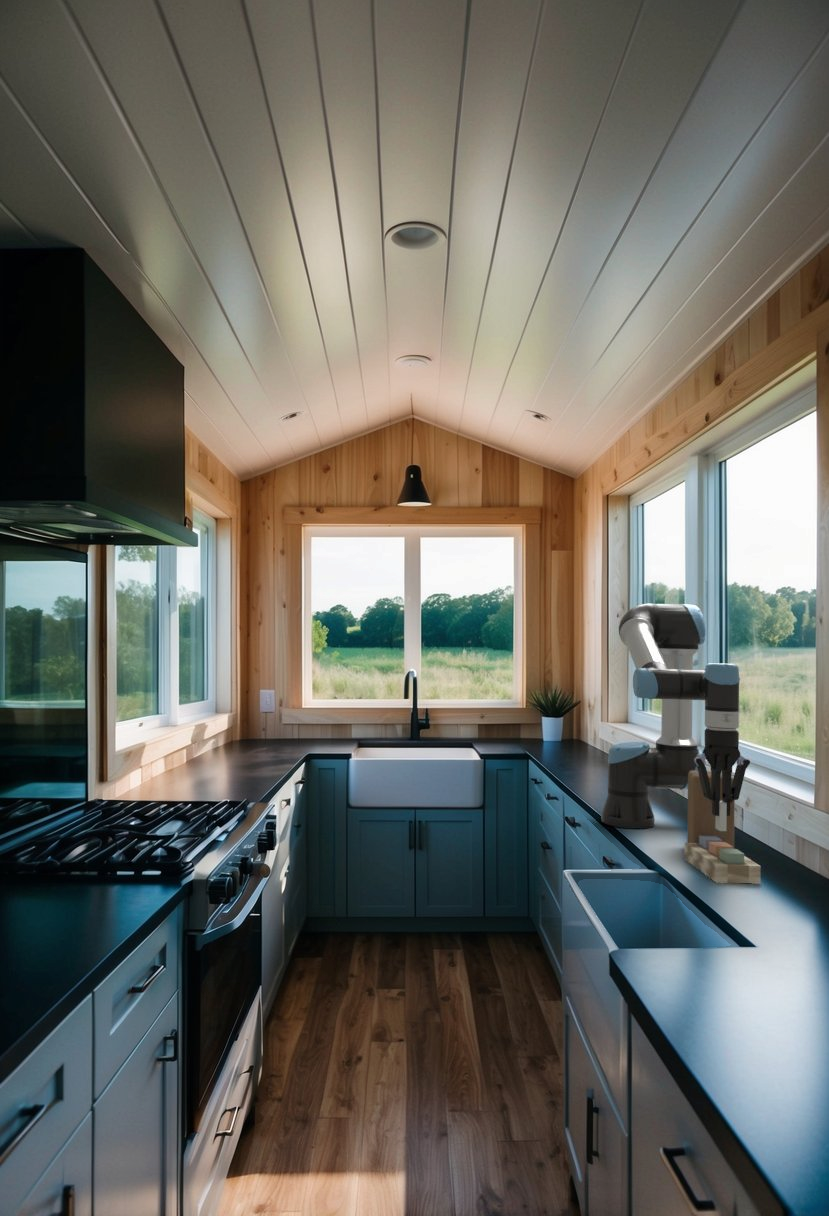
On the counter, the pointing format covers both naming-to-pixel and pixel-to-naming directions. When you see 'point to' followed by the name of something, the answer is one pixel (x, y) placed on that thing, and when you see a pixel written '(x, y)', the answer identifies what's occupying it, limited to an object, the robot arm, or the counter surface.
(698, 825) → the block
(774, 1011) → the counter surface
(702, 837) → the grey small cube
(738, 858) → the green button
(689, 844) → the wooden slotted tray
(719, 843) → the terracotta button
